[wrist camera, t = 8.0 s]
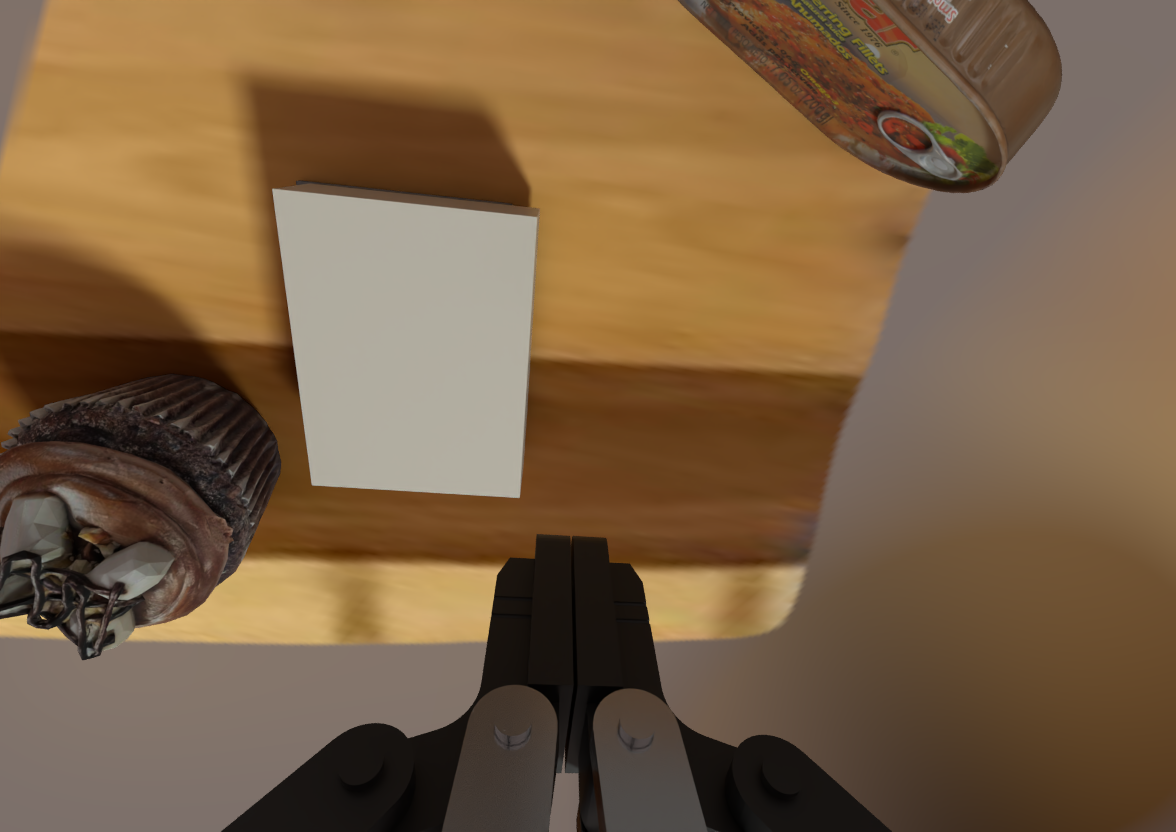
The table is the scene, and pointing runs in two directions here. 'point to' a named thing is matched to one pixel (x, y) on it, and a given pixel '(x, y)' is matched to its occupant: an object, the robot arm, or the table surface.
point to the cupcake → (129, 506)
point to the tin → (904, 77)
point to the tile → (410, 336)
